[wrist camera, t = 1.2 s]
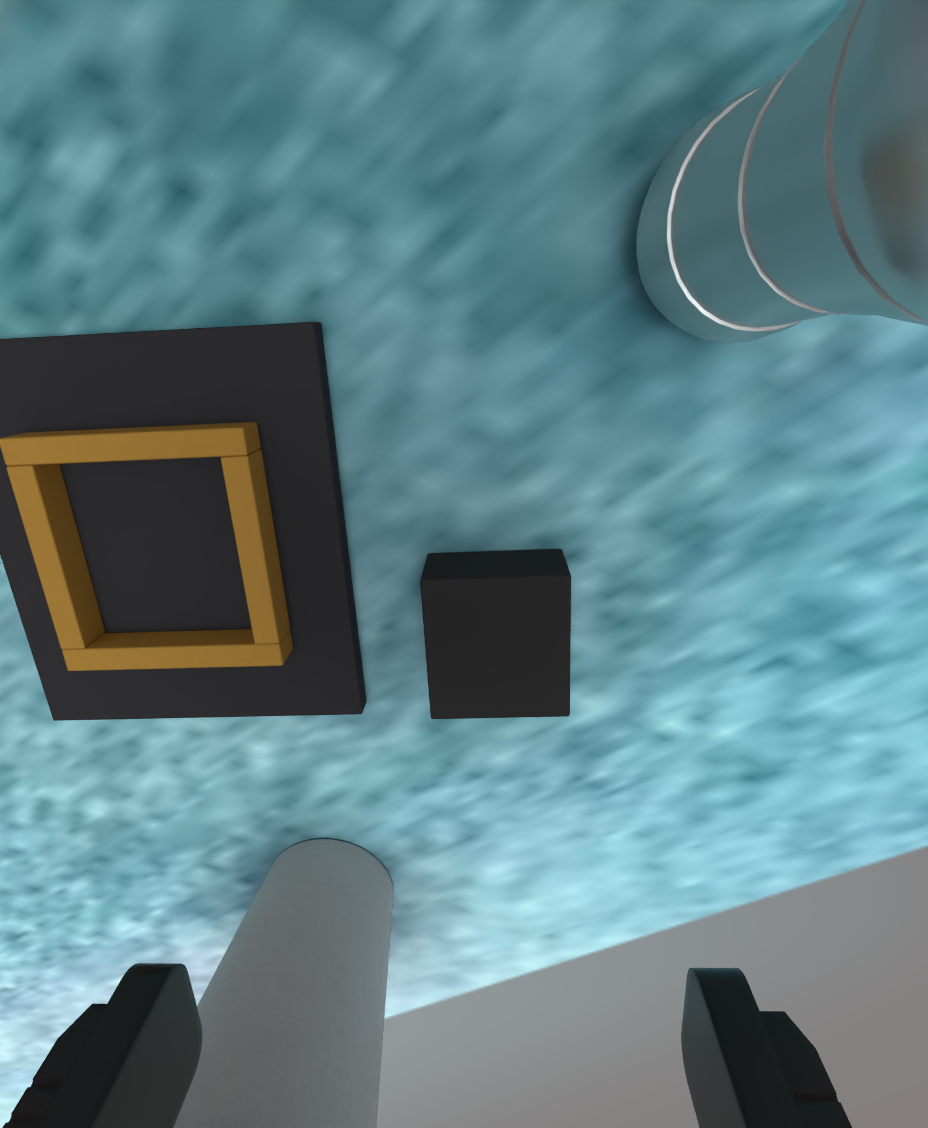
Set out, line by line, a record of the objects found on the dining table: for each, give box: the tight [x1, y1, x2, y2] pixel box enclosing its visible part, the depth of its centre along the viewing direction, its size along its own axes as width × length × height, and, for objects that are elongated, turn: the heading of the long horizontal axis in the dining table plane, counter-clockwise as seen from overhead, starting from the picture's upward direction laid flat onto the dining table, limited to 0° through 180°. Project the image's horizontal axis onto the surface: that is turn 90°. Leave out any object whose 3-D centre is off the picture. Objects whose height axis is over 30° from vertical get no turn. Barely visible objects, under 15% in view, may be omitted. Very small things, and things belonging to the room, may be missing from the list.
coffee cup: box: [173, 839, 393, 1128], centre depth 25 cm, size 10×10×15 cm
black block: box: [420, 549, 571, 719], centre depth 25 cm, size 6×6×3 cm
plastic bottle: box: [636, 0, 928, 343], centre depth 12 cm, size 6×7×20 cm
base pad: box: [0, 322, 366, 720], centre depth 25 cm, size 16×14×2 cm
